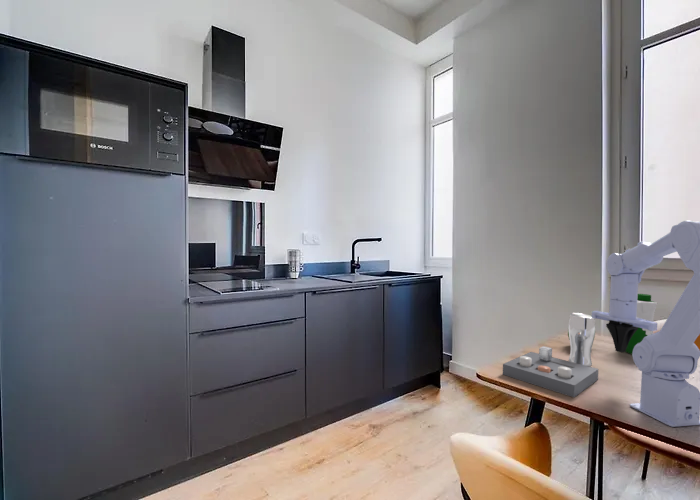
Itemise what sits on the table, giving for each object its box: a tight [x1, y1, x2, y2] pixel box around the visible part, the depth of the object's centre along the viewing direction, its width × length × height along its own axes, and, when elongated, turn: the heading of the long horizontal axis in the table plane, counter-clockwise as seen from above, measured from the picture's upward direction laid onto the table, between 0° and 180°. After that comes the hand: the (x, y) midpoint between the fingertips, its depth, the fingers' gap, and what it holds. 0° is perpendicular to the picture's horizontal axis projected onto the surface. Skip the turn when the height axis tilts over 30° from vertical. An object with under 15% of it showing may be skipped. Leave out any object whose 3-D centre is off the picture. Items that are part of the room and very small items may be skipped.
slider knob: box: [538, 345, 553, 361], centre depth 105 cm, size 2×3×3 cm
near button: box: [558, 366, 571, 379], centre depth 93 cm, size 3×3×3 cm
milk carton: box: [625, 293, 658, 355], centre depth 124 cm, size 9×9×20 cm
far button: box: [519, 355, 532, 367], centre depth 101 cm, size 3×3×3 cm
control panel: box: [502, 351, 599, 398], centre depth 100 cm, size 18×18×3 cm
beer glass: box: [568, 312, 596, 367], centre depth 112 cm, size 7×7×15 cm
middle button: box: [538, 365, 551, 373], centre depth 97 cm, size 3×3×3 cm
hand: (620, 351), depth 94 cm, fingers closed
